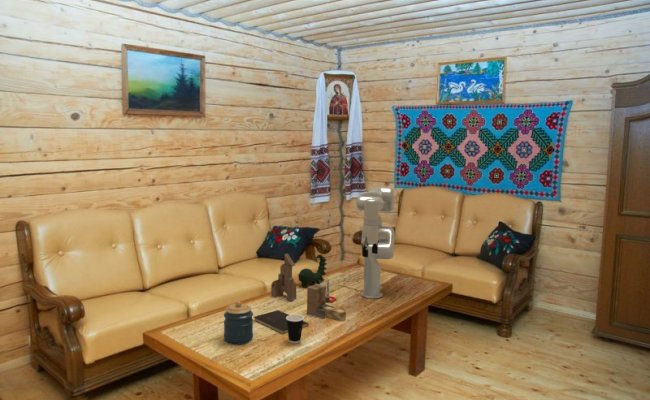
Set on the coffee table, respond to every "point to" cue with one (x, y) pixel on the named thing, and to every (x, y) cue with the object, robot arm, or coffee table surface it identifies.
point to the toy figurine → (309, 277)
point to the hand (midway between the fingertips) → (369, 255)
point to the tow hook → (328, 294)
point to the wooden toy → (285, 281)
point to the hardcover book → (275, 321)
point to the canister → (238, 324)
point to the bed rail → (334, 313)
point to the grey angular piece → (316, 300)
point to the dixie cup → (294, 327)
